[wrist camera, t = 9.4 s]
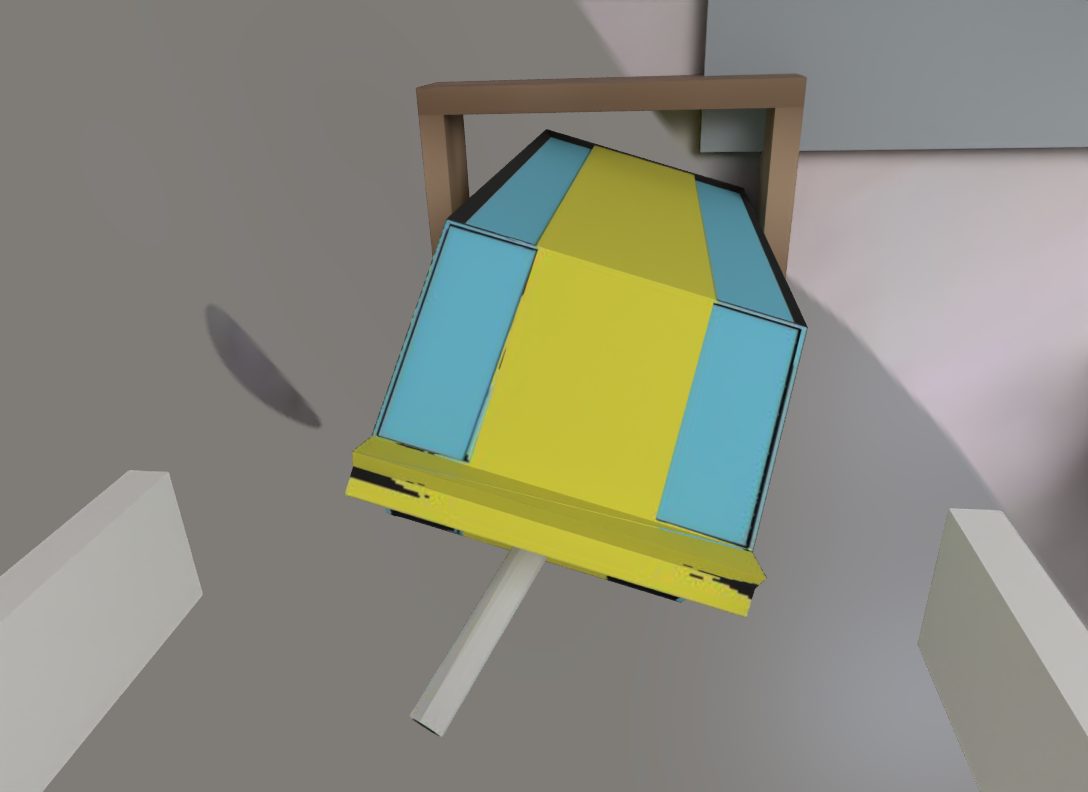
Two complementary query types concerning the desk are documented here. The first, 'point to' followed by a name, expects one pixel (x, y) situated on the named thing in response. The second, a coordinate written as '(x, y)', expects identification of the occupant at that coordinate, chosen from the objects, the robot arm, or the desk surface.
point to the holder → (684, 92)
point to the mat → (907, 72)
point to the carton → (590, 388)
